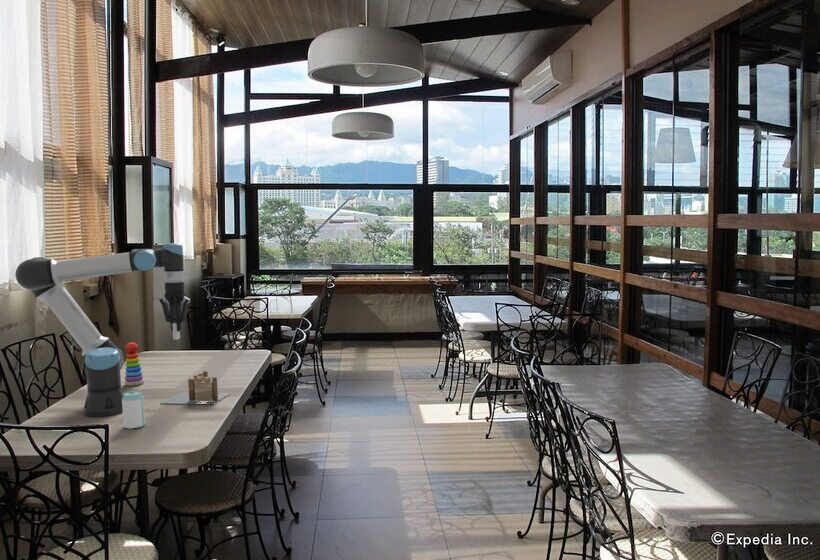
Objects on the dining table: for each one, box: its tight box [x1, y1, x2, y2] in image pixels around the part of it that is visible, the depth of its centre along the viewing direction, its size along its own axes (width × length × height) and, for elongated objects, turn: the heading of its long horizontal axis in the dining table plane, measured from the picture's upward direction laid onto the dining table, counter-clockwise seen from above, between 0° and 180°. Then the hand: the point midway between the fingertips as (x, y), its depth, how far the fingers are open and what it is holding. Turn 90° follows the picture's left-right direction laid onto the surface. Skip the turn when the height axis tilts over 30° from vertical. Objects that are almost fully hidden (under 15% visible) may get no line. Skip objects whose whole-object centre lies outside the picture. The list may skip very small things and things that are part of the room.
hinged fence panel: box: [193, 370, 209, 382], centre depth 272 cm, size 2×9×9 cm, turn 164°
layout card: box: [160, 392, 231, 406], centre depth 269 cm, size 16×22×1 cm
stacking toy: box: [124, 341, 145, 387], centre depth 296 cm, size 8×8×19 cm
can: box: [122, 390, 146, 430], centre depth 234 cm, size 7×7×12 cm
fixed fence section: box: [187, 376, 219, 401], centre depth 265 cm, size 2×12×10 cm, turn 81°
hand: (176, 339), depth 274 cm, fingers closed
